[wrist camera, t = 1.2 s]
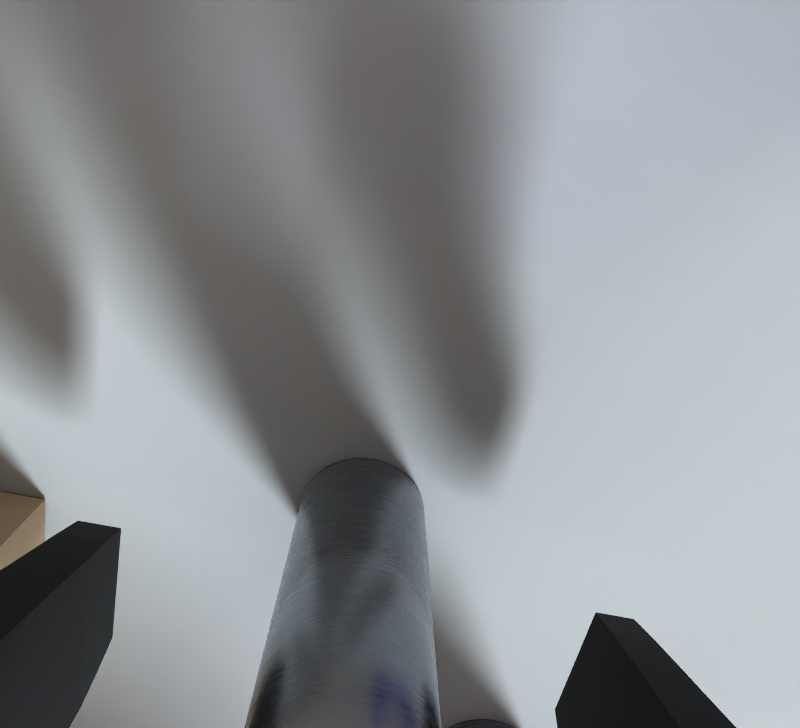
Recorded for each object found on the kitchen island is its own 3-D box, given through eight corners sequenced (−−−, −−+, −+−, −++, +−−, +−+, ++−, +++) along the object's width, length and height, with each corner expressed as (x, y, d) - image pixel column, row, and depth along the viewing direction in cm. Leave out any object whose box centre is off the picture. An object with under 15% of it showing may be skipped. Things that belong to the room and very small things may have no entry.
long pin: (408, 572, 13) (431, 1223, 5) (291, 551, 12) (132, 1200, 5) (436, 471, 12) (513, 1069, 4) (312, 447, 12) (160, 1031, 4)
